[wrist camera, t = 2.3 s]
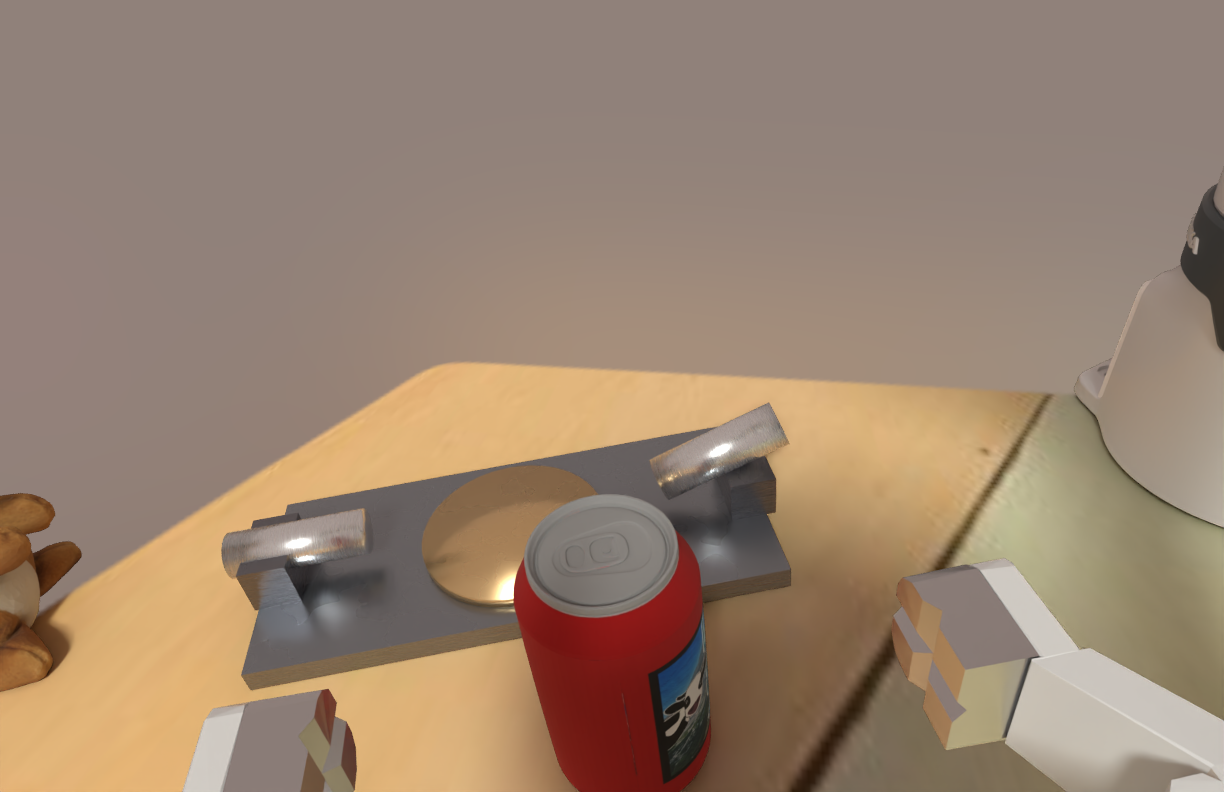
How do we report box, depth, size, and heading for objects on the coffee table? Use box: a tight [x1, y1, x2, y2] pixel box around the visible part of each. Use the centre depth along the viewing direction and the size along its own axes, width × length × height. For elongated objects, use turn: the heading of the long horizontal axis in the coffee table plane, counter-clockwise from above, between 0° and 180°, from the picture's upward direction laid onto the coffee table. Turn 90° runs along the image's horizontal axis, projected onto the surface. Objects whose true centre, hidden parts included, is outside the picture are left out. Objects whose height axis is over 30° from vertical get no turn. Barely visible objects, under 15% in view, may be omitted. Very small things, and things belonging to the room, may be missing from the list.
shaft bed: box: [222, 403, 791, 690], centre depth 42 cm, size 30×12×7 cm, turn 99°
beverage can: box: [513, 494, 711, 792], centre depth 31 cm, size 7×7×12 cm
